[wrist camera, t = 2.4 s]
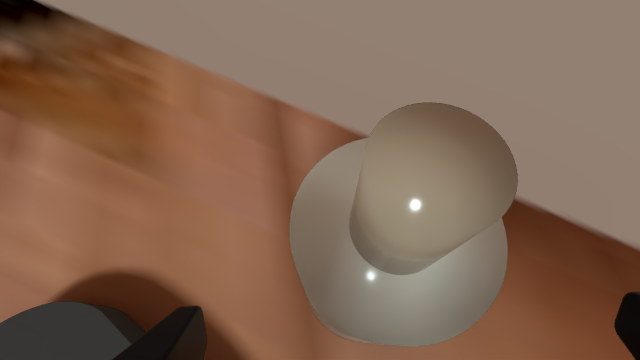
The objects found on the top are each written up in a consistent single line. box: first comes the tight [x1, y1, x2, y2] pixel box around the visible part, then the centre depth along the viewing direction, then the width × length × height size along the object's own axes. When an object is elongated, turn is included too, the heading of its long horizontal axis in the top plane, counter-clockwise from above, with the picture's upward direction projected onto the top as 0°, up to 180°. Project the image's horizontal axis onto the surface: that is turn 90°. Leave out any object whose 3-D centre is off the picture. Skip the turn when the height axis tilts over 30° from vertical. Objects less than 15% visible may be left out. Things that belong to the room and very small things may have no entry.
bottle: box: [289, 103, 518, 347], centre depth 11 cm, size 5×5×12 cm
